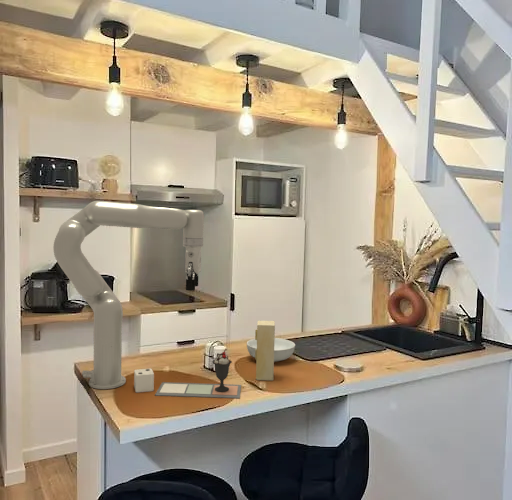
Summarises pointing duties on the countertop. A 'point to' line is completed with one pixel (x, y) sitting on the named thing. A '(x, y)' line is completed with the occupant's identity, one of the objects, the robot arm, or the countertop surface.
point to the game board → (197, 390)
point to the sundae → (222, 370)
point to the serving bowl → (275, 348)
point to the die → (143, 380)
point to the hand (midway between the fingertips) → (192, 288)
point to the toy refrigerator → (265, 350)
